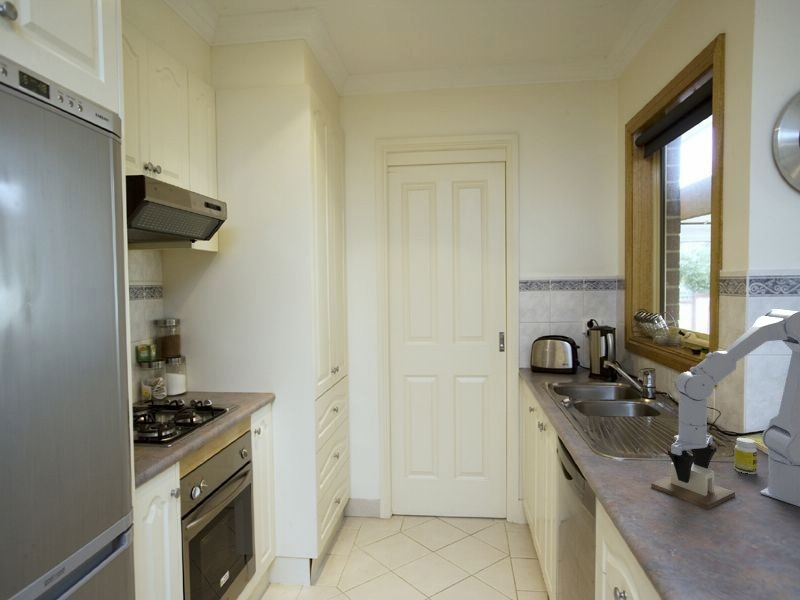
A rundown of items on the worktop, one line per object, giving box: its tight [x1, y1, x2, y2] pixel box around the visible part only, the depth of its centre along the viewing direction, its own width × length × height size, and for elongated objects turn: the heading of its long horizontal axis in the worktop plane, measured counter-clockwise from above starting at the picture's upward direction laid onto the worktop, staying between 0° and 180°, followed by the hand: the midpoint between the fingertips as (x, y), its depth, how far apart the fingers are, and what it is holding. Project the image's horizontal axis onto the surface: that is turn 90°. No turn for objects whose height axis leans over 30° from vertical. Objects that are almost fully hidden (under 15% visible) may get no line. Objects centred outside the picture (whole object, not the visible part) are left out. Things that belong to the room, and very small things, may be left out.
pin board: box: [650, 474, 736, 510], centre depth 110 cm, size 13×12×3 cm
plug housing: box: [670, 462, 715, 496], centre depth 110 cm, size 8×4×5 cm, turn 29°
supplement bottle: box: [734, 437, 758, 475], centre depth 120 cm, size 5×5×8 cm
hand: (692, 477), depth 110 cm, fingers open, 7 cm apart
